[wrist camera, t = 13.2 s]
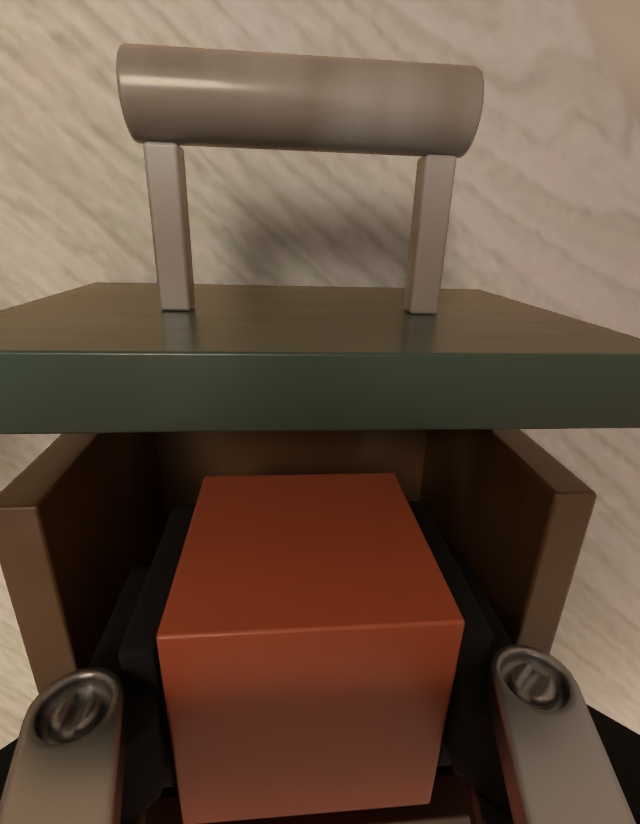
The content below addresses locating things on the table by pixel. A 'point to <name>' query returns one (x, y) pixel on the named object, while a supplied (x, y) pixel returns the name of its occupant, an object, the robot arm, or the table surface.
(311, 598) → the block
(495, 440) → the drawer
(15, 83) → the table surface
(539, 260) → the table surface
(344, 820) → the cabinet
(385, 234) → the table surface
